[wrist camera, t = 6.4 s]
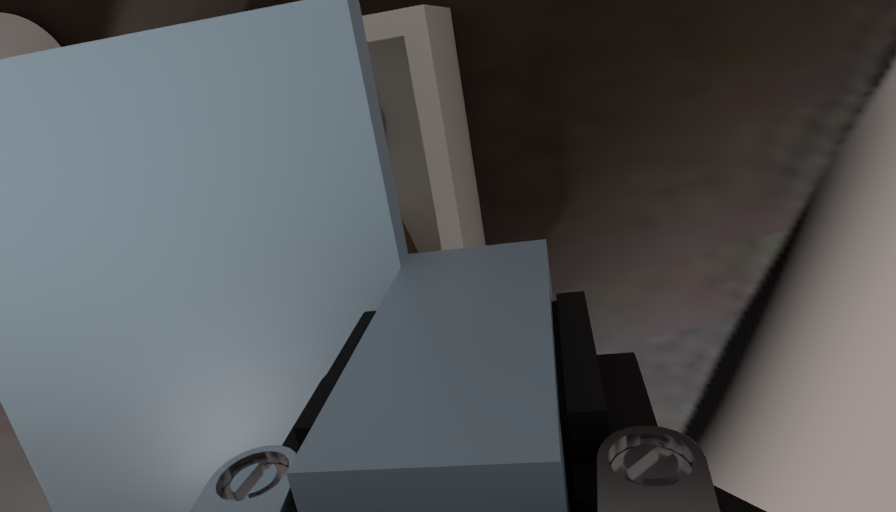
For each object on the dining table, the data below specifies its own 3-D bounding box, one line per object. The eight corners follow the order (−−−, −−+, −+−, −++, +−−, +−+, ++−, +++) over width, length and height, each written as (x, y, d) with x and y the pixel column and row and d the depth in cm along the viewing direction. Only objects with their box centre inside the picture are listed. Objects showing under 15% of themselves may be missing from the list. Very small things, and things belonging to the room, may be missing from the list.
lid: (582, 554, 16) (619, 959, 9) (126, 561, 19) (-121, 883, 12) (515, -33, 11) (489, -137, 4) (-86, 82, 14) (-725, 135, 7)
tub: (496, 314, 29) (486, 384, 24) (304, 330, 31) (253, 398, 25) (450, 8, 24) (423, 4, 19) (227, 48, 26) (143, 56, 21)
